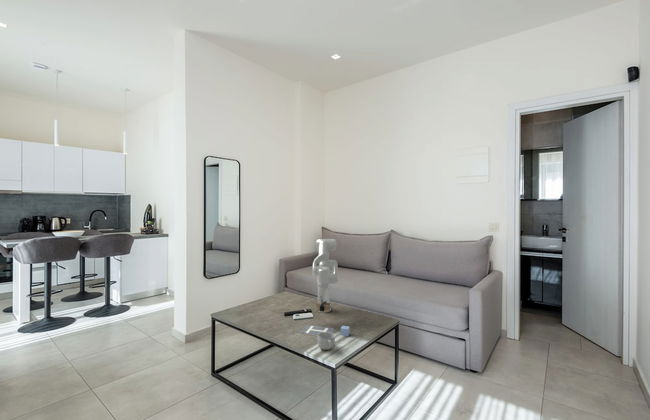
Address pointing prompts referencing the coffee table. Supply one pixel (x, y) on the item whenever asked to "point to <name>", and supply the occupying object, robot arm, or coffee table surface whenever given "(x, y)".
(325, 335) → the teacup
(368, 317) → the coffee table surface
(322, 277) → the robot arm
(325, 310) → the walnut block
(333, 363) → the coffee table surface
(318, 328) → the letter card
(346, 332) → the blue cube
